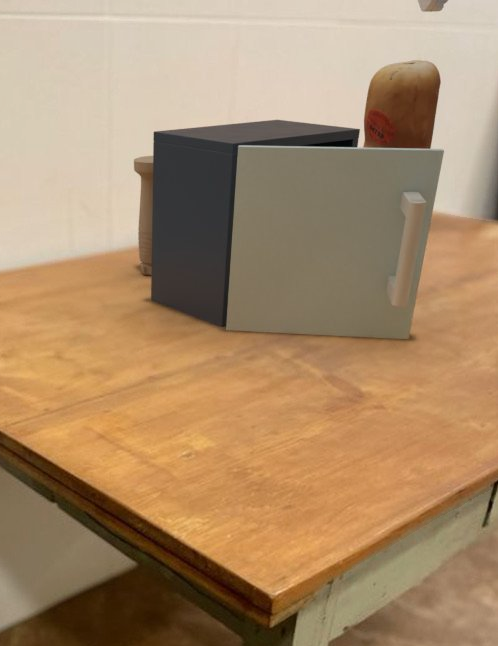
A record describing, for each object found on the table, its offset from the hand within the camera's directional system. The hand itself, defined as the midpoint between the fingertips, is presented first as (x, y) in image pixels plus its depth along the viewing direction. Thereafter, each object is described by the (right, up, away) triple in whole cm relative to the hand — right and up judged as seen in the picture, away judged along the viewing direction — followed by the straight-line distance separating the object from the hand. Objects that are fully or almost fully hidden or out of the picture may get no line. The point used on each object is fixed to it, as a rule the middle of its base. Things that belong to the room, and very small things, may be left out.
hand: (478, 4), depth 64 cm
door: (-7, -22, +25) cm, 34 cm away
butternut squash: (+18, +11, +78) cm, 81 cm away
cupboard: (-13, -13, +39) cm, 43 cm away
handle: (-24, -6, +51) cm, 57 cm away
